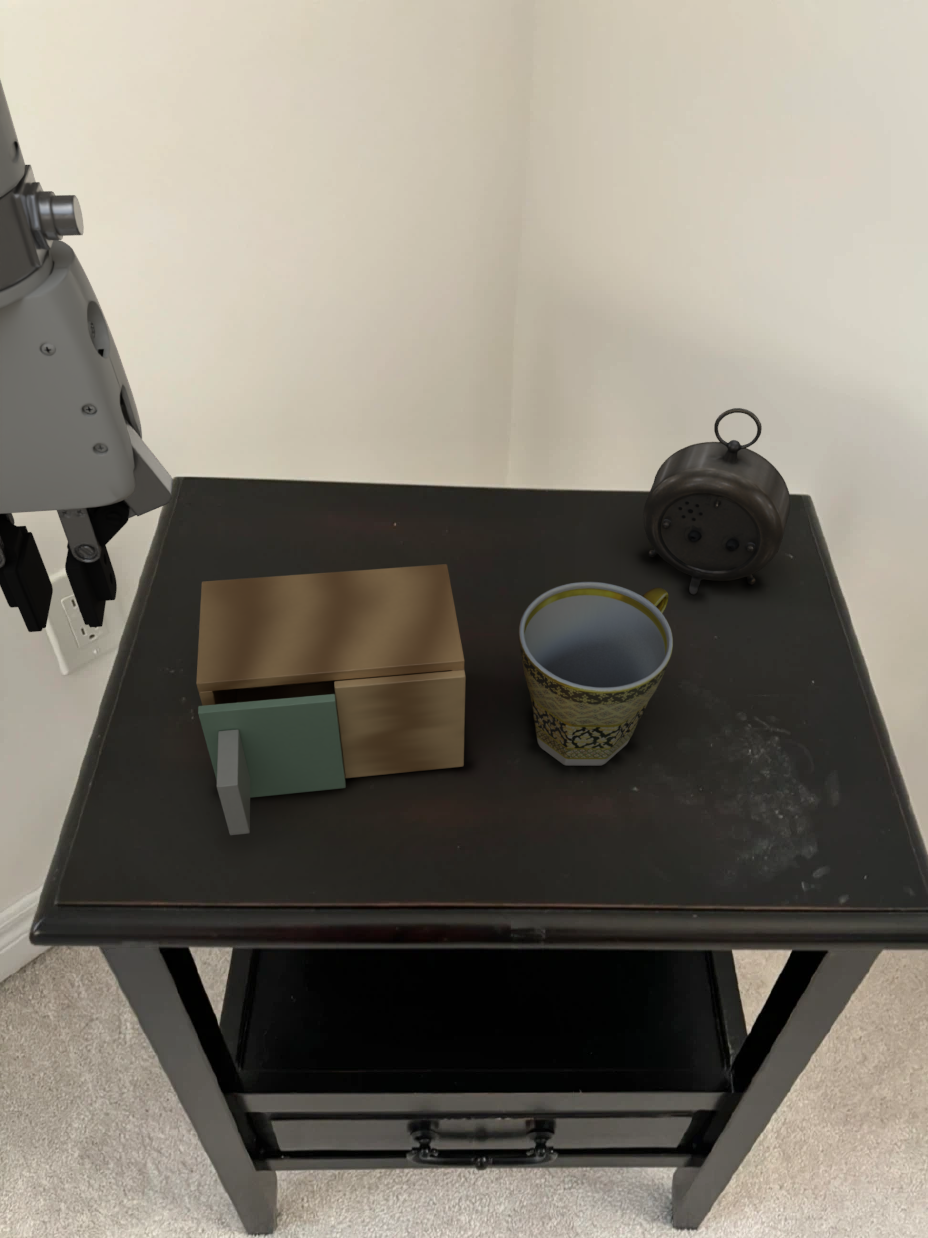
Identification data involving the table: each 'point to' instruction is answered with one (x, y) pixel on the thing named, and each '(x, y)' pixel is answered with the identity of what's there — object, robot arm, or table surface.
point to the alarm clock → (717, 509)
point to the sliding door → (271, 750)
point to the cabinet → (346, 658)
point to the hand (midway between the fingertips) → (69, 607)
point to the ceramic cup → (592, 666)
